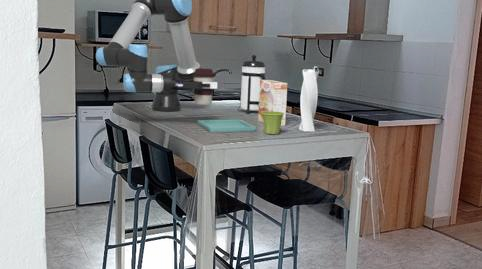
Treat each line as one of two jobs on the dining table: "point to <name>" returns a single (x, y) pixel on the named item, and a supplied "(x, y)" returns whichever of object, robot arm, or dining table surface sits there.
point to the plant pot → (272, 121)
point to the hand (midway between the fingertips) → (214, 84)
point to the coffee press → (251, 84)
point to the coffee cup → (205, 94)
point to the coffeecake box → (272, 98)
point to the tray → (226, 126)
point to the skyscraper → (308, 100)
